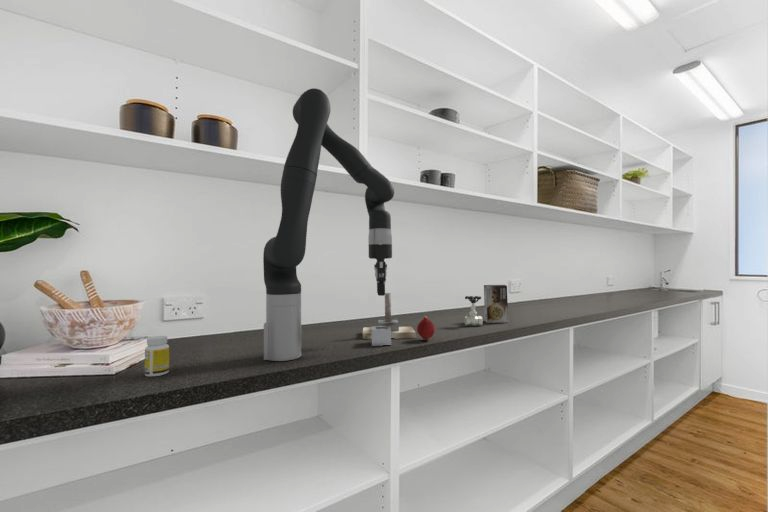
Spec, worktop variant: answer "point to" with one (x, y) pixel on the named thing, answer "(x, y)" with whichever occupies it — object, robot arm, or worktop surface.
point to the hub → (381, 335)
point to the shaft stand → (390, 324)
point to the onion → (426, 328)
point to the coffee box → (495, 303)
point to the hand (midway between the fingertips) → (380, 294)
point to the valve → (473, 313)
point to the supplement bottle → (156, 356)
